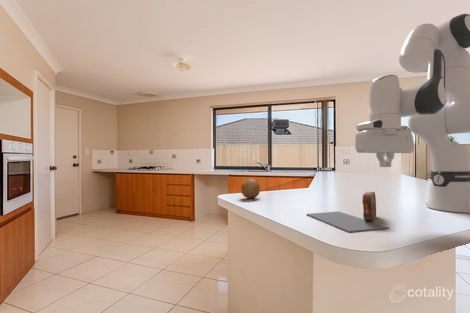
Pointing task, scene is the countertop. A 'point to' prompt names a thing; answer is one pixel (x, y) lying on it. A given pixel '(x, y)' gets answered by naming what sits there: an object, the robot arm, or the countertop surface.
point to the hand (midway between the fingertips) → (385, 167)
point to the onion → (250, 188)
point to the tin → (369, 206)
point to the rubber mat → (347, 222)
